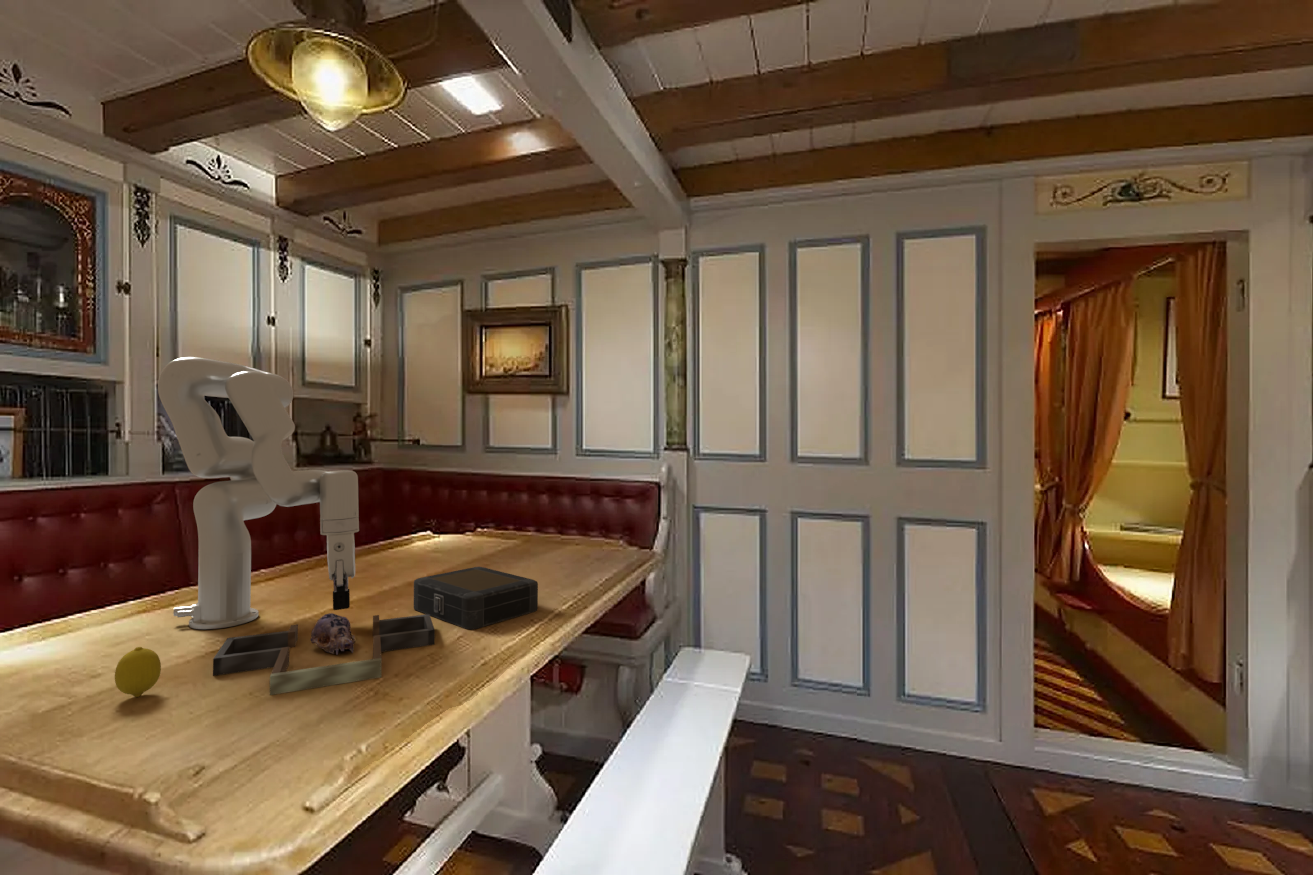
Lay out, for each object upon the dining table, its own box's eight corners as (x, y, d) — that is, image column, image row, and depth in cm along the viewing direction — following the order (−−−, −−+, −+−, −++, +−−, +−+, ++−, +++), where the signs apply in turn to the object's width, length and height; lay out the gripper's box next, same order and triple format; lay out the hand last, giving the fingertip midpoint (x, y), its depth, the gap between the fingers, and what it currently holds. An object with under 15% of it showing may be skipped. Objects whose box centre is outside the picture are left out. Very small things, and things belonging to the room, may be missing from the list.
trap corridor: (192, 707, 89) (192, 687, 89) (231, 647, 114) (231, 631, 114) (441, 667, 105) (441, 651, 105) (427, 622, 130) (427, 609, 130)
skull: (363, 653, 112) (363, 622, 112) (318, 663, 107) (318, 630, 107) (349, 636, 121) (349, 607, 121) (307, 644, 116) (307, 614, 116)
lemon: (168, 692, 94) (169, 643, 94) (128, 707, 89) (128, 655, 89) (146, 687, 96) (147, 639, 96) (105, 701, 91) (106, 650, 91)
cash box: (408, 610, 140) (408, 579, 140) (479, 593, 156) (479, 565, 156) (468, 633, 125) (468, 597, 125) (540, 611, 140) (540, 580, 140)
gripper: (358, 528, 123) (360, 614, 123) (359, 520, 136) (360, 598, 136) (317, 532, 119) (319, 620, 119) (322, 523, 133) (324, 602, 133)
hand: (341, 608), depth 128 cm, fingers closed
